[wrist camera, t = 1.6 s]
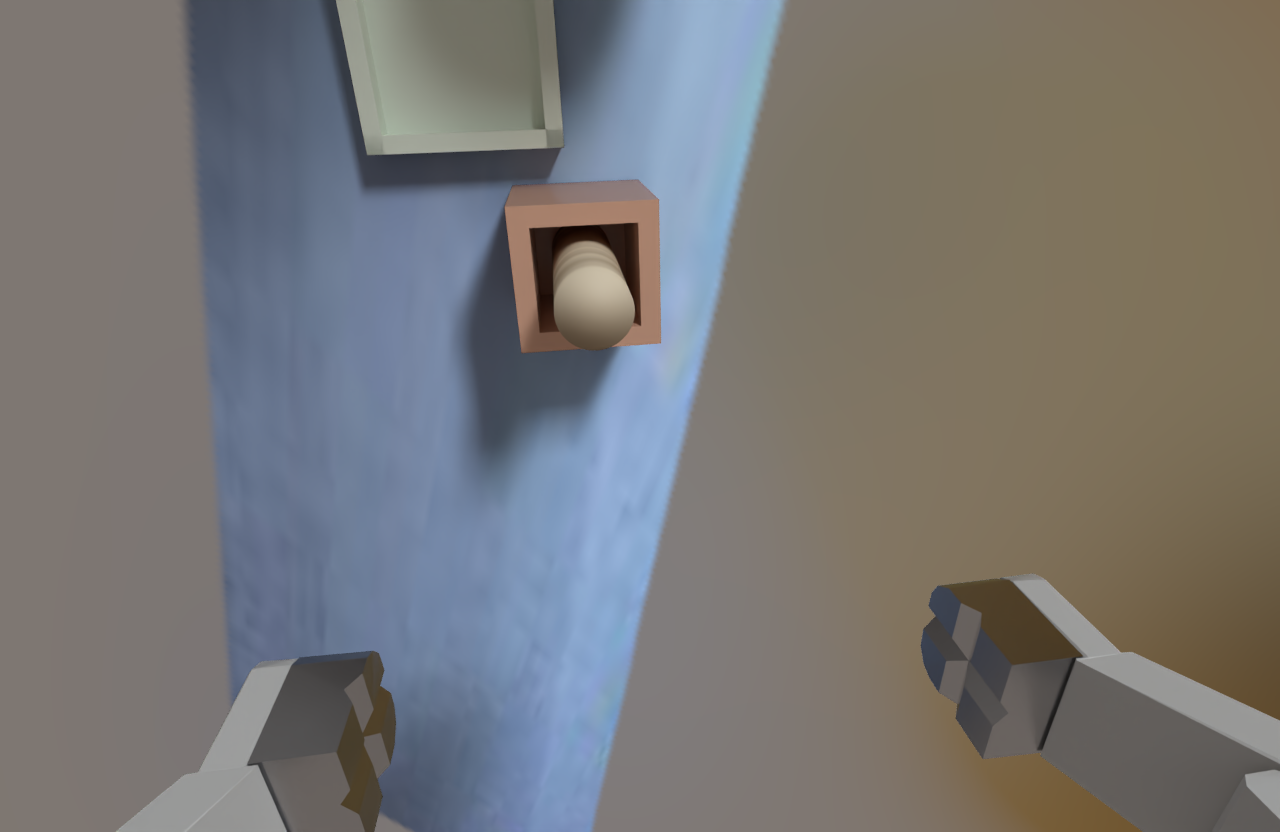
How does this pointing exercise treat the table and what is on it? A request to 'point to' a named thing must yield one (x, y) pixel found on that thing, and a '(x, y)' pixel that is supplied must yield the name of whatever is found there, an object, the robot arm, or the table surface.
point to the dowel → (589, 289)
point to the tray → (453, 74)
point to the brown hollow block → (604, 203)
